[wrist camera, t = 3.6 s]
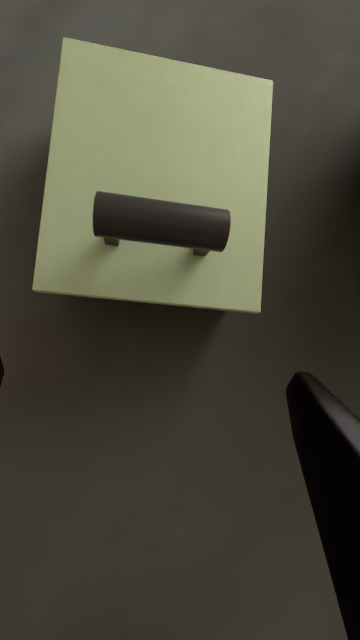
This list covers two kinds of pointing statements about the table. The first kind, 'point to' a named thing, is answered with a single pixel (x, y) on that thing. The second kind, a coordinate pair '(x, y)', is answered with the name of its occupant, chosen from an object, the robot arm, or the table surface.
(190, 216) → the bin lid
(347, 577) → the robot arm
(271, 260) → the table surface
